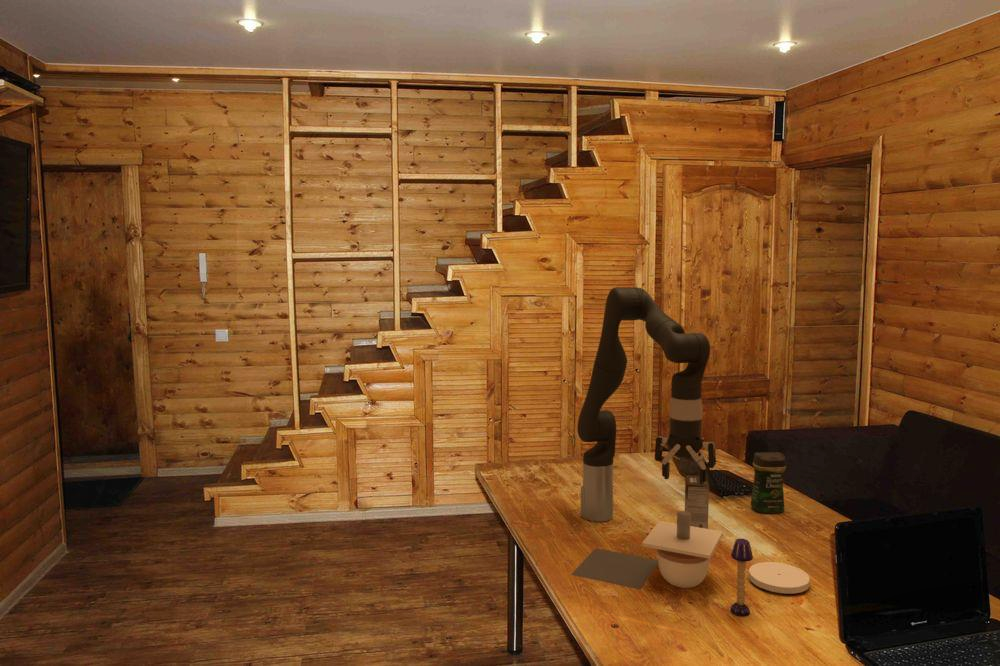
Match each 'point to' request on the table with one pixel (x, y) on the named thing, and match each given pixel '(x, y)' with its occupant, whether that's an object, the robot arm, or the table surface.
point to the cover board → (683, 546)
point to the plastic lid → (779, 577)
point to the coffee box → (697, 501)
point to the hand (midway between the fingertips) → (684, 481)
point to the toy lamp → (741, 575)
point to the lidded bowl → (682, 568)
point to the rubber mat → (616, 568)
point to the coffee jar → (768, 482)
